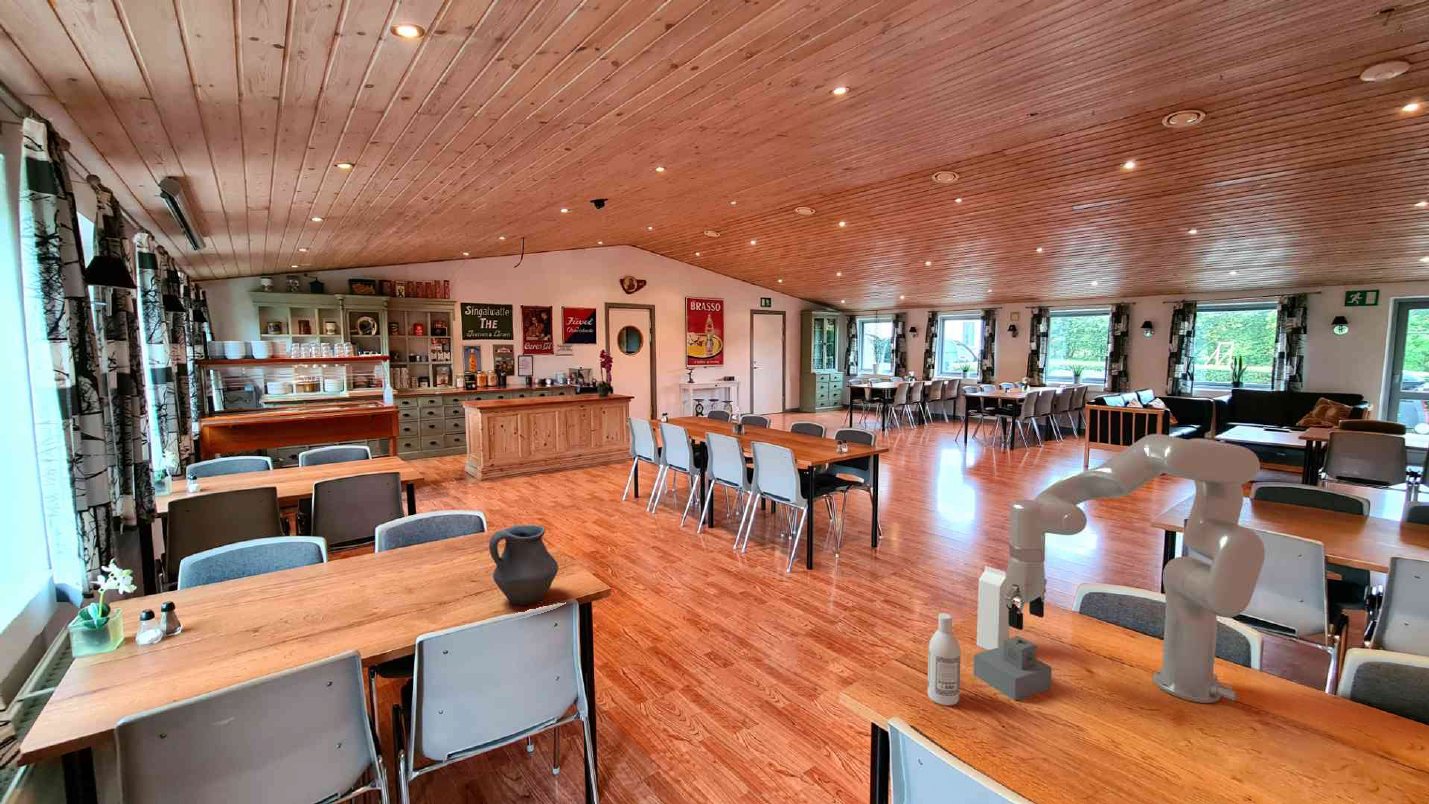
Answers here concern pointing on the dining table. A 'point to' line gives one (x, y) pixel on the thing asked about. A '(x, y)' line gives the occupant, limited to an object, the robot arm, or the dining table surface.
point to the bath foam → (944, 664)
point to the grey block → (1011, 675)
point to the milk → (992, 609)
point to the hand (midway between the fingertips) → (1026, 621)
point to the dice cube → (1020, 652)
